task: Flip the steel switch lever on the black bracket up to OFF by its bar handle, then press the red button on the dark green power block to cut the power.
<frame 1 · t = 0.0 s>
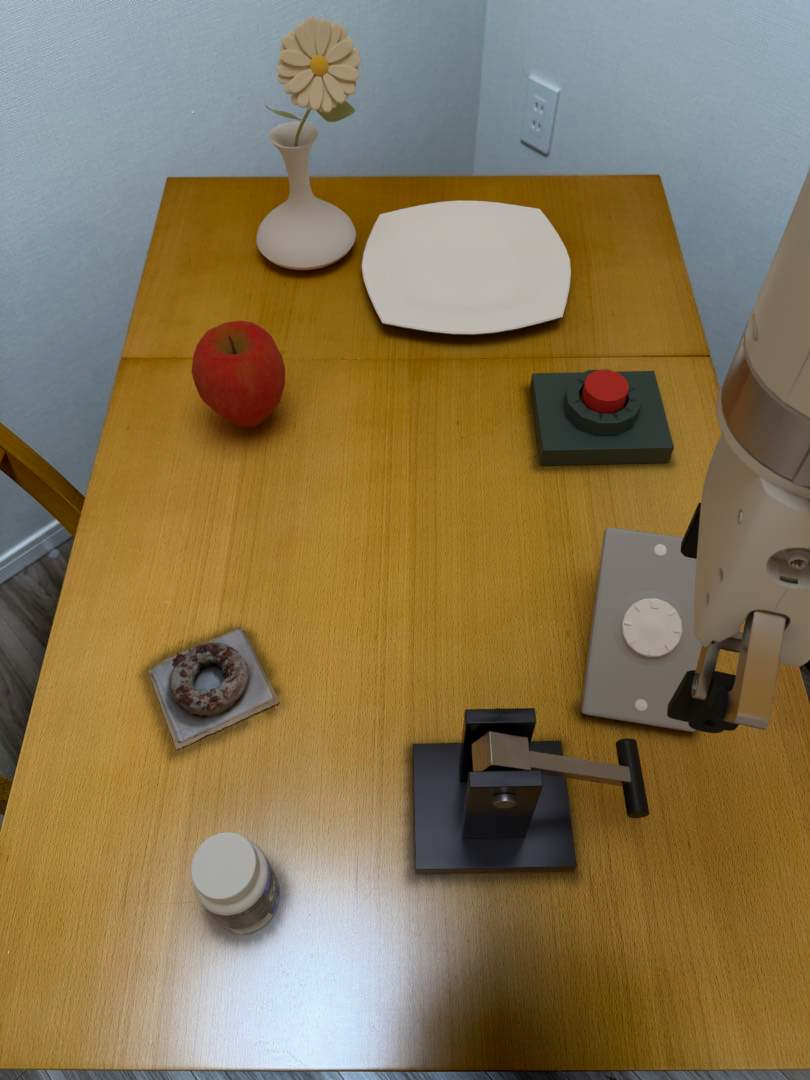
hand: (704, 632, 44), 23 cm above the table, tool pointing down, fingers open, 9 cm apart
plate: (465, 277, 96), on the table
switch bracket: (490, 807, 62), on the table
switch lever: (563, 767, 55), point 8 cm above the table, hinge at -25.0°
light switch: (638, 652, 69), on the table
flower in vase: (315, 250, 99), on the table
power block: (596, 424, 83), on the table
apple: (251, 420, 84), on the table
stop button: (605, 391, 79), point 4 cm above the table, slide at 0.1 cm
pill bottle: (247, 897, 59), on the table
donut: (213, 689, 68), on the table
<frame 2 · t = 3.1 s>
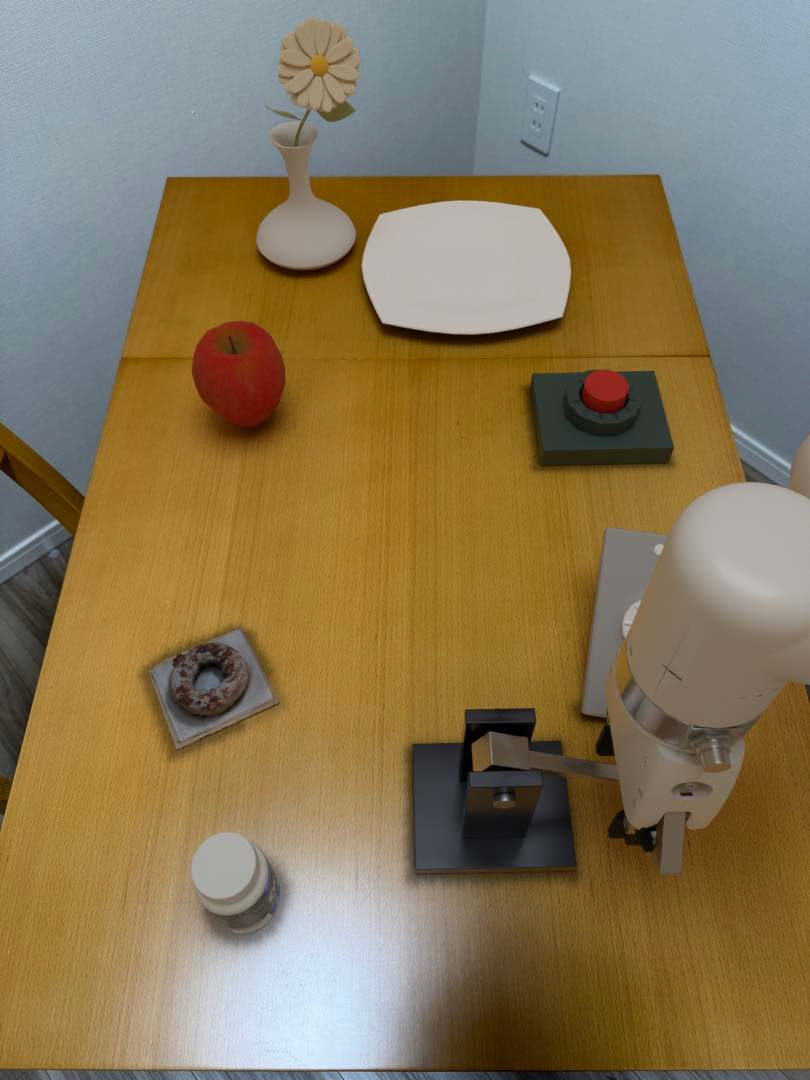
hand: (624, 790, 59), 3 cm above the table, tool pointing down, fingers closed on switch lever, 5 cm apart
switch lever: (563, 767, 55), point 8 cm above the table, hinge at -25.0°, touching gripper
everything else where it was.
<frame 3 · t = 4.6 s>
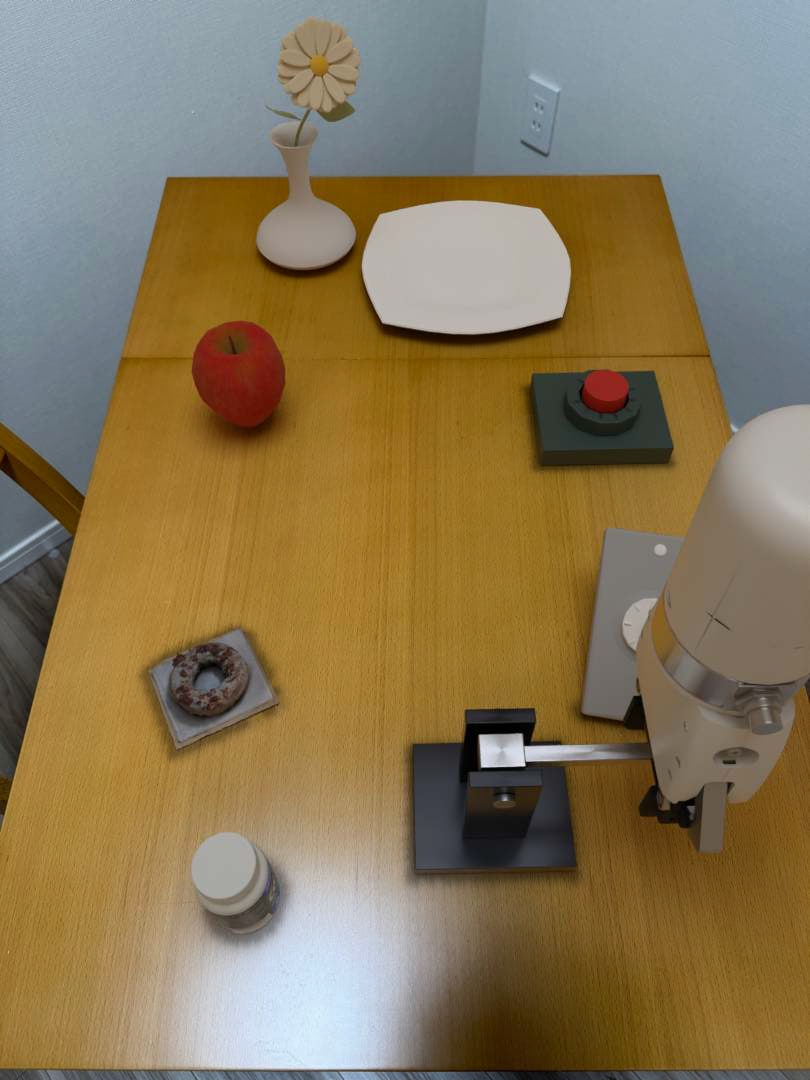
hand: (655, 765, 55), 8 cm above the table, tool pointing down, fingers closed on switch lever, 5 cm apart
switch lever: (575, 755, 53), point 10 cm above the table, hinge at 1.1°, touching gripper
everything else where it was.
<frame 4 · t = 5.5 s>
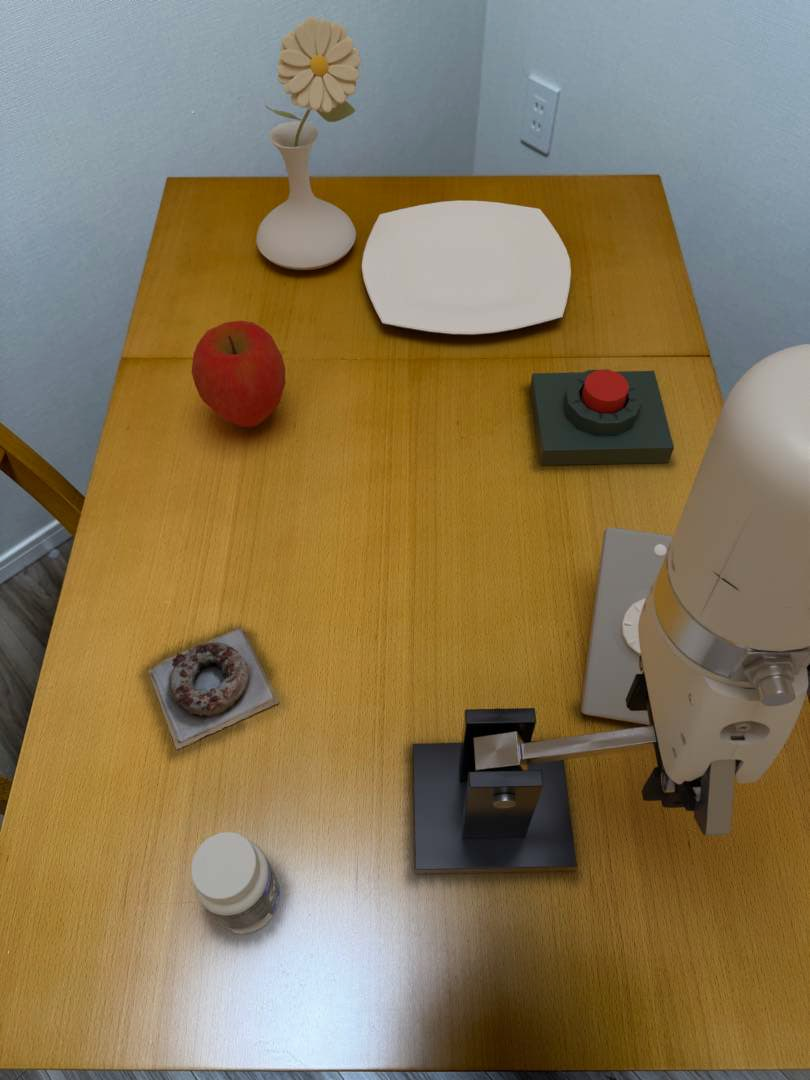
hand: (659, 747, 53), 11 cm above the table, tool pointing down, fingers closed on switch lever, 5 cm apart
switch lever: (575, 747, 52), point 11 cm above the table, hinge at 18.0°, touching gripper
everything else where it was.
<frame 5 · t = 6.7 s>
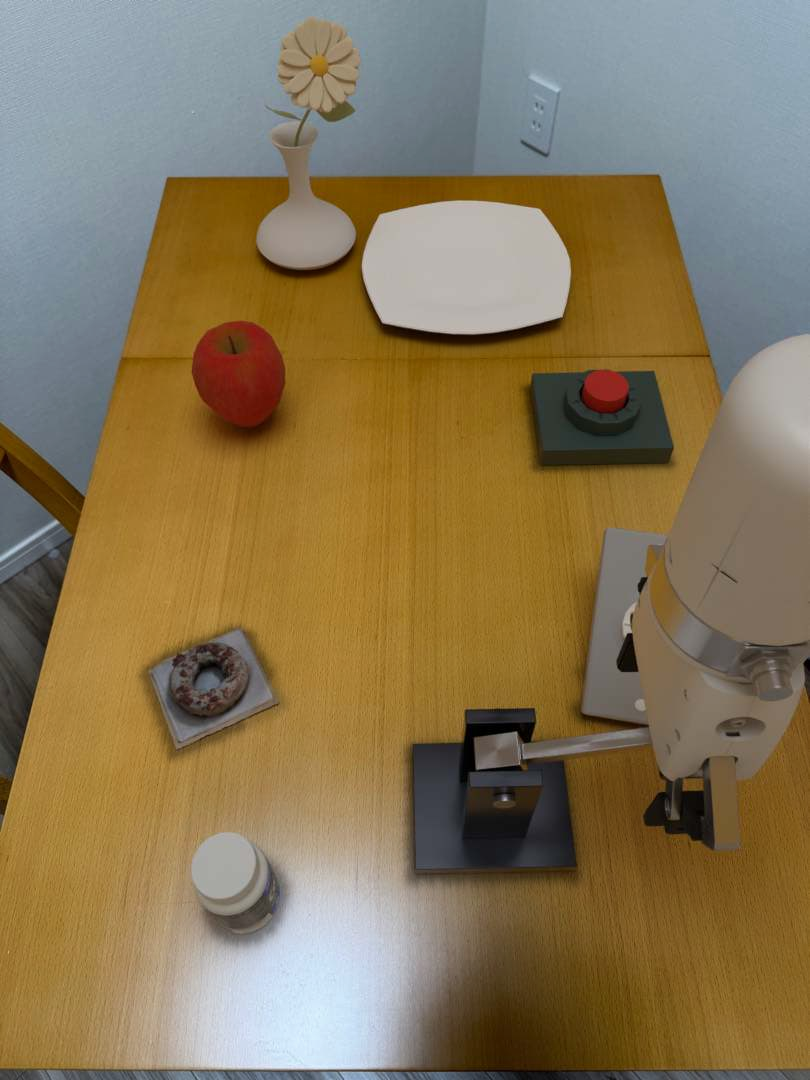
hand: (655, 739, 52), 12 cm above the table, tool pointing down, fingers open, 9 cm apart
switch lever: (575, 747, 52), point 11 cm above the table, hinge at 17.0°
everything else where it was.
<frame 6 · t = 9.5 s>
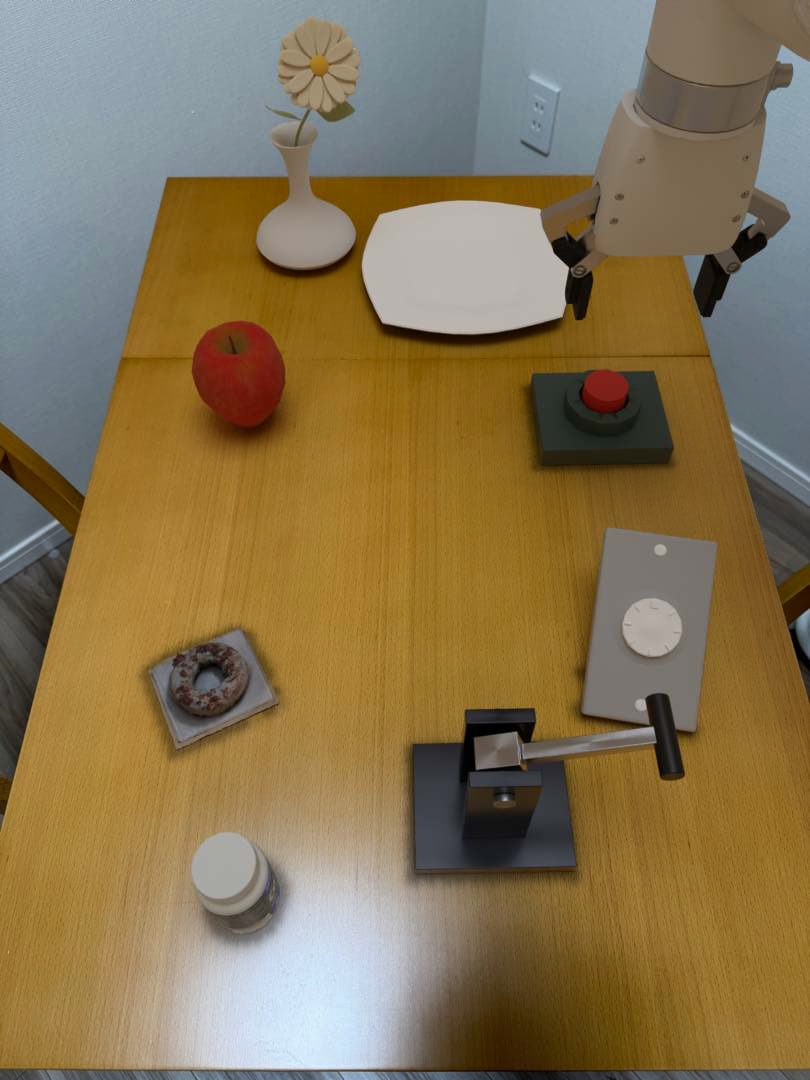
hand: (639, 306, 66), 18 cm above the table, tool pointing down, fingers open, 9 cm apart
nothing on the table moved.
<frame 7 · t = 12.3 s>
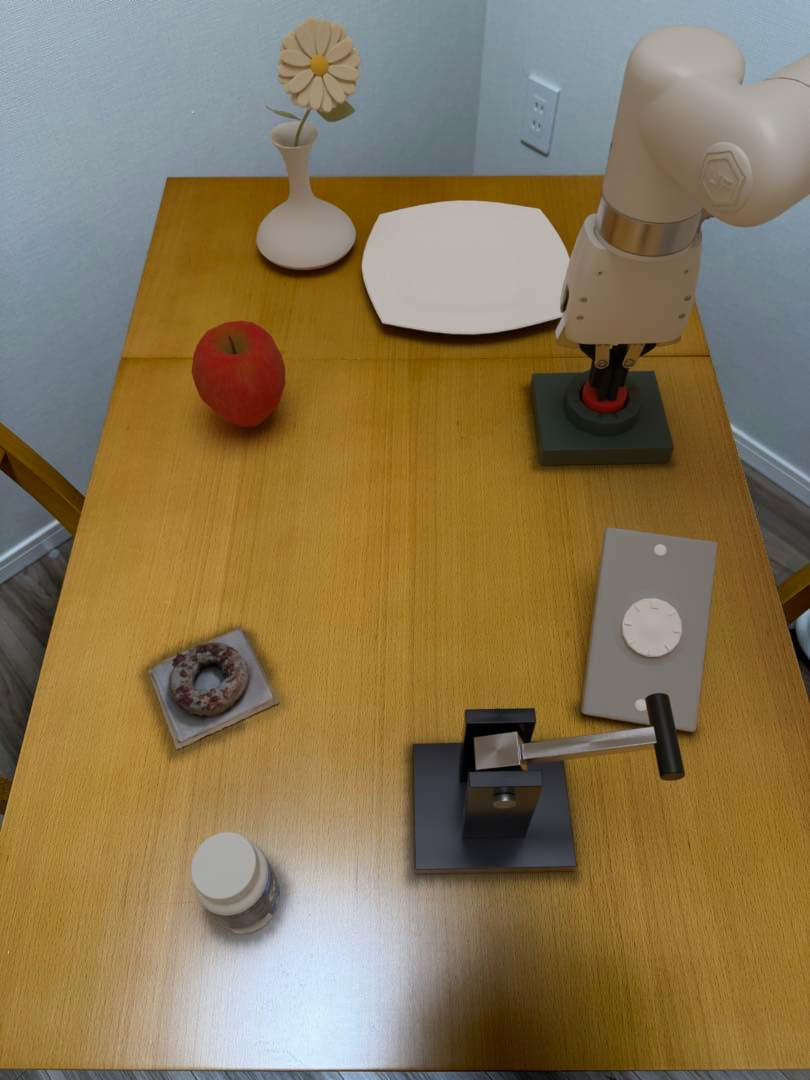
hand: (604, 389, 79), 5 cm above the table, tool pointing down, fingers closed
stop button: (603, 397, 80), point 4 cm above the table, slide at -0.6 cm, touching gripper
everything else where it was.
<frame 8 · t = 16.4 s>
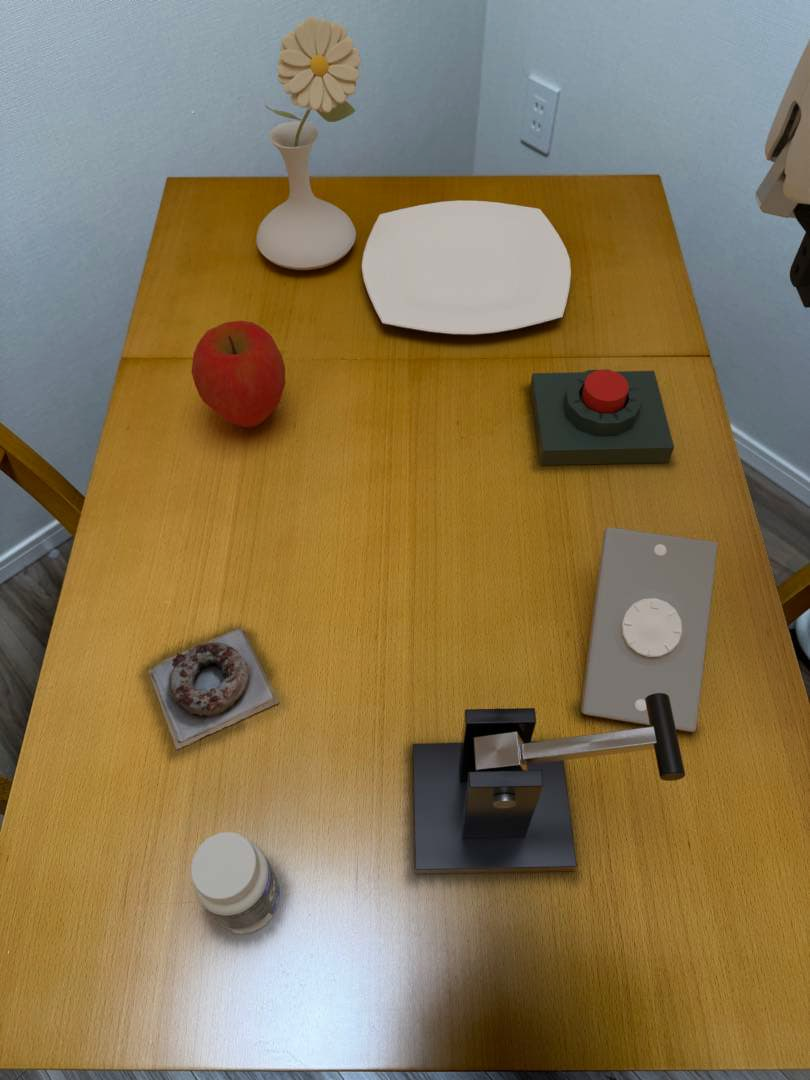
stop button: (605, 391, 79), point 4 cm above the table, slide at 0.1 cm
everything else where it was.
at the end: switch lever at +17° (first picture: -25°); stop button pushed in 1.1 cm at the most during the clip, back to where it started at the end; stop button slide at 0.1 cm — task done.
